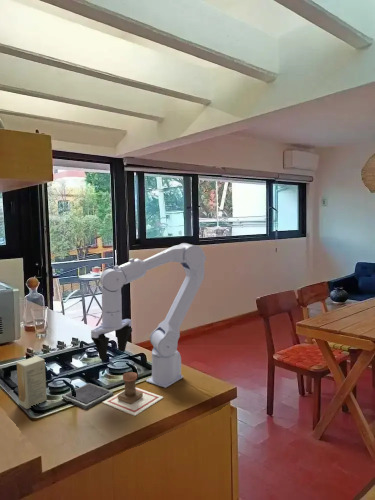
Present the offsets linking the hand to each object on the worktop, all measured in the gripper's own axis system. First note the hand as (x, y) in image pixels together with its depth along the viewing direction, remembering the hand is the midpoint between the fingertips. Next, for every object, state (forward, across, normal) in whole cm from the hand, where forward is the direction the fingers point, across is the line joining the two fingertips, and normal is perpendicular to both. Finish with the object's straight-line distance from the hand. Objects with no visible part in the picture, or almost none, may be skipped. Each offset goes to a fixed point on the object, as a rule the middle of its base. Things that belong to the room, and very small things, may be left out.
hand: (112, 354), depth 116 cm
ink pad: (+10, +8, -2) cm, 13 cm away
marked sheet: (+10, +2, +10) cm, 15 cm away
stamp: (+10, +2, +9) cm, 14 cm away
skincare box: (+11, +19, -12) cm, 25 cm away
